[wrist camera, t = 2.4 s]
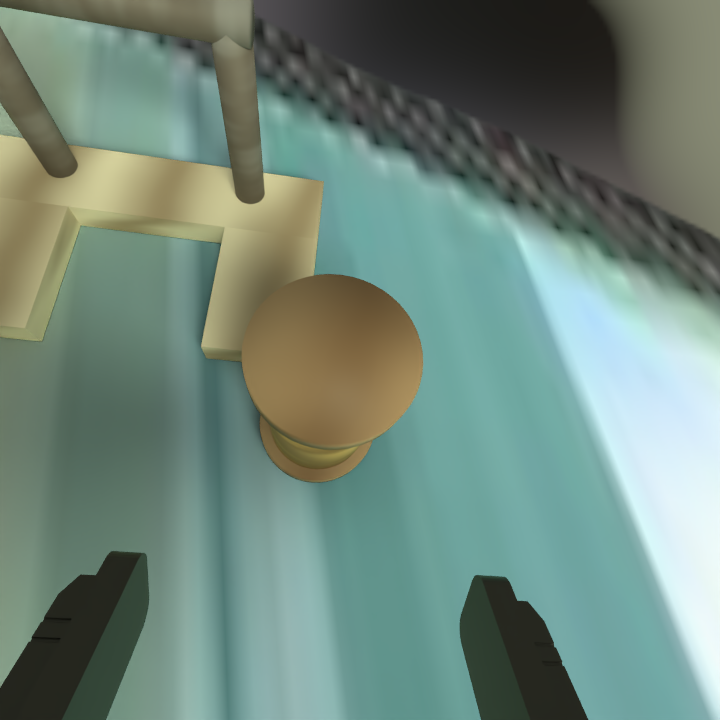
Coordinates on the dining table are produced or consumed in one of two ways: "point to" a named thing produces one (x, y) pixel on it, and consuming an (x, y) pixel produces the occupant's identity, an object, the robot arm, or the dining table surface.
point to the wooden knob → (329, 372)
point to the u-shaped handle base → (150, 182)
